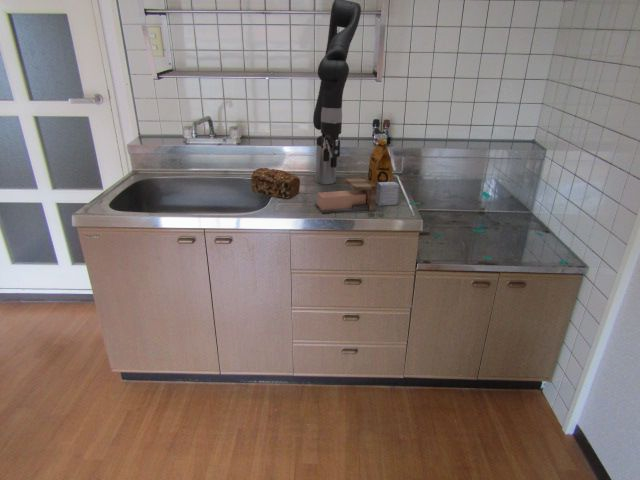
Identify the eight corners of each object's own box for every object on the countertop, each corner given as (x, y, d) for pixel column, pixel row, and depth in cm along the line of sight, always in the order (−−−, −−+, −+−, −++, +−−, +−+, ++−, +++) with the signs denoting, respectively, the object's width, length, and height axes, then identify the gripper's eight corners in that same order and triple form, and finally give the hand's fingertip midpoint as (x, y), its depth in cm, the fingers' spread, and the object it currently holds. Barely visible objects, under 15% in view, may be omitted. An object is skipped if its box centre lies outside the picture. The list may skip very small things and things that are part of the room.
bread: (250, 193, 187) (249, 170, 183) (264, 186, 196) (263, 164, 192) (288, 200, 180) (288, 177, 176) (301, 193, 189) (301, 170, 185)
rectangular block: (317, 204, 174) (317, 192, 172) (359, 201, 179) (360, 189, 177) (322, 210, 168) (322, 197, 166) (365, 206, 174) (366, 194, 172)
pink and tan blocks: (314, 204, 176) (314, 180, 172) (362, 200, 182) (364, 177, 178) (323, 215, 166) (324, 189, 162) (374, 210, 172) (376, 185, 168)
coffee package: (369, 195, 189) (373, 144, 179) (365, 186, 200) (369, 137, 191) (392, 195, 189) (398, 144, 180) (387, 186, 200) (392, 138, 191)
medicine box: (393, 201, 182) (395, 181, 179) (397, 205, 178) (399, 184, 175) (375, 202, 181) (377, 182, 177) (378, 206, 177) (380, 185, 173)
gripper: (315, 117, 163) (314, 159, 170) (327, 124, 151) (326, 170, 158) (334, 116, 165) (332, 159, 172) (348, 123, 153) (345, 168, 160)
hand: (329, 164), depth 165 cm, fingers open, 8 cm apart
